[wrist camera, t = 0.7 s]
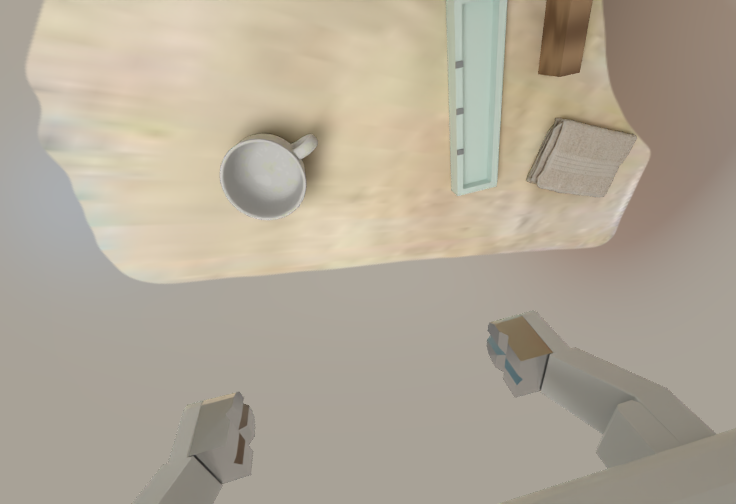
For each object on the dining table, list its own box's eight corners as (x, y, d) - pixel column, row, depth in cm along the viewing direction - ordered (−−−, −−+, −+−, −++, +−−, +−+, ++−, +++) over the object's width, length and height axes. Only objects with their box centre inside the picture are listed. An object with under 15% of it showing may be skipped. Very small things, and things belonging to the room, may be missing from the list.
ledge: (445, -2, 42) (455, -5, 40) (504, -14, 43) (516, -18, 40) (451, 190, 57) (458, 196, 55) (494, 179, 58) (503, 185, 55)
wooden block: (548, -19, 43) (575, -25, 39) (569, -23, 44) (599, -30, 40) (537, 73, 50) (559, 76, 46) (556, 69, 50) (580, 72, 46)
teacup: (257, 209, 52) (252, 233, 46) (212, 147, 46) (199, 165, 39) (335, 170, 51) (341, 188, 45) (300, 101, 45) (301, 111, 39)
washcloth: (550, 114, 54) (563, 118, 51) (631, 131, 59) (647, 135, 56) (520, 183, 60) (530, 189, 57) (596, 193, 65) (608, 199, 62)
